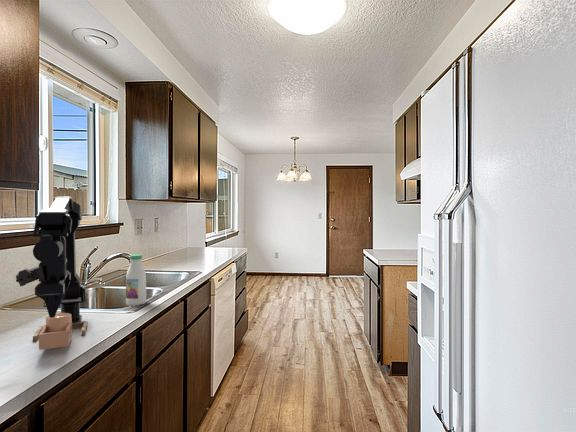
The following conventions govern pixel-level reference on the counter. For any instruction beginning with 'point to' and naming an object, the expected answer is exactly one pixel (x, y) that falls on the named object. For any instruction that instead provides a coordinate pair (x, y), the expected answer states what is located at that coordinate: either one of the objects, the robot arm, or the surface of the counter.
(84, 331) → the cradle
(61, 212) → the robot arm
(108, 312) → the counter surface
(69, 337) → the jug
